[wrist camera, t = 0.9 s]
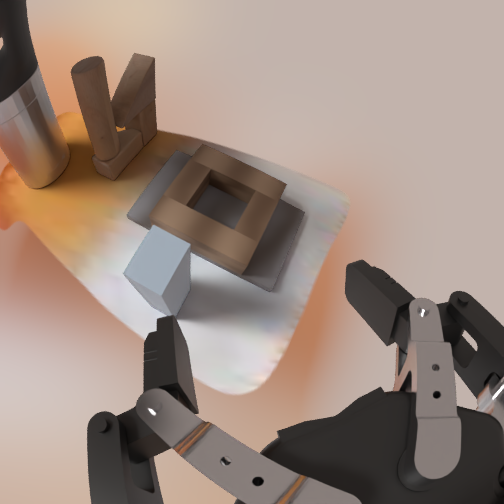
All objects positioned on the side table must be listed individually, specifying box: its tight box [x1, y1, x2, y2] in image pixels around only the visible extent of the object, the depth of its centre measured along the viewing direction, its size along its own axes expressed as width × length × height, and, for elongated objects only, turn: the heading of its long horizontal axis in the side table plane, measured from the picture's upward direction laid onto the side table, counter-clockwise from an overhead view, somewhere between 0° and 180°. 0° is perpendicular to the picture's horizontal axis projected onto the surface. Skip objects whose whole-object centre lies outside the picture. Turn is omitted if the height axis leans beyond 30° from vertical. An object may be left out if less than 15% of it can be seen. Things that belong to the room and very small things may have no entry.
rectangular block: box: [123, 225, 191, 318], centre depth 24 cm, size 3×4×14 cm
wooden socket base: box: [127, 144, 305, 292], centre depth 33 cm, size 20×12×4 cm, turn 66°
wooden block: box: [71, 53, 157, 181], centre depth 27 cm, size 4×11×18 cm, turn 155°
